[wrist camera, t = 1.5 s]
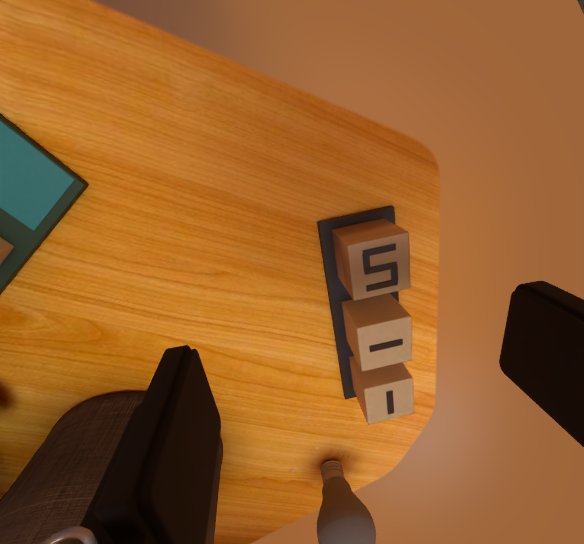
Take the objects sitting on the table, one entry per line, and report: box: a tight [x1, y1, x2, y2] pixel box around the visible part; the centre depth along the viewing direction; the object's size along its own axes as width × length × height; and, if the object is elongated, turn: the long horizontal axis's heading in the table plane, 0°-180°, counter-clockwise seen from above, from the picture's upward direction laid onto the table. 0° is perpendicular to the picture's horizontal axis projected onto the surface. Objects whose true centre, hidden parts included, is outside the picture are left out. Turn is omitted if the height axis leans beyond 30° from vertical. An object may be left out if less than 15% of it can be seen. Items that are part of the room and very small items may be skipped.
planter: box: [0, 392, 223, 544], centre depth 25 cm, size 18×18×16 cm
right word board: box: [317, 206, 414, 424], centre depth 26 cm, size 20×6×5 cm, turn 11°
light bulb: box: [317, 460, 376, 544], centre depth 32 cm, size 6×6×10 cm
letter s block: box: [332, 218, 411, 301], centre depth 23 cm, size 4×4×5 cm
